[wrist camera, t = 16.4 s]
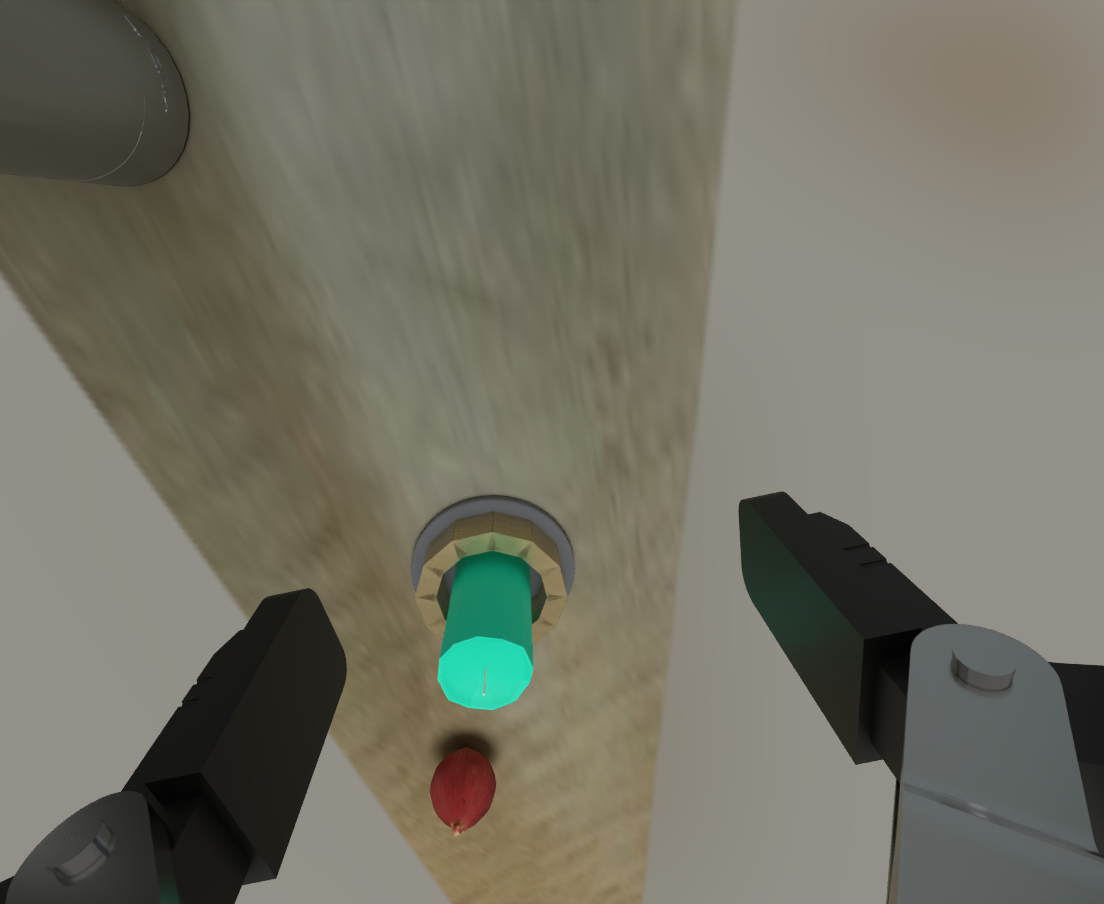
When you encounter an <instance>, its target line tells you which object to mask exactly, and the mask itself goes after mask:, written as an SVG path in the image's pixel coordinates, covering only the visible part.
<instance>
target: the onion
mask: <svg viewBox="0 0 1104 904" xmlns="http://www.w3.org/2000/svg"><path fill="white" fill-rule="evenodd" d="M495 789H496V780H495V774H494V771H493V769H492V766H491V764H490V763H489V761H488V760H487V759H486V758H485V757H484V756H483V755H482V754H480V753H479V752H477V751H475V750H472V749H471V748H470V747H463V748H461V749H459V750H457V751H454V752H452V753H450V754H449V755H447V756H446V757H445V758H444V759H443V760H442V761H441V762H440V764H439V765H438V766H437V768H436V770H435V773H434V776H433V779H432V782H431V787H430V794H431V799H432V803H433V807H434V810H435V812H436V814H437V816H438V817H439V818H440V819H441V820H442V821H443V822H444V823H445V824H446V825H447V826H449V827H451V828H452V832H453V836H458V835H460V834H461V833H462V832H464V831H465V830H466V829H468V828H470V827H472V826H474V825H475V824H476V823H477V822H478V821H479V820H480V819H481V818H482V817H483V816H484V815H485V814H486V813H487V812H488V810H489V809H490V806H491V803H492V800H493V797H494V794H495Z"/></svg>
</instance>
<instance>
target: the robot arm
mask: <svg viewBox="0 0 1104 904" xmlns="http://www.w3.org/2000/svg"><path fill="white" fill-rule="evenodd" d="M188 119H189V113H188V105H187V98H186V93H185V90H184V87H183V84H182V81H181V78H180V75H179V72H178V70H177V68H176V66H175V65H174V63H173V61H172V59H171V57H170V55H169V53H168V52H167V50H166V49H165V48H164V46H163V45H162V43H161V42H160V41H159V39H158V38H157V37H156V35H155V34H154V33H153V32H152V31H151V30H150V29H149V28H148V27H147V26H146V25H145V24H144V23H143V22H142V21H141V20H140V19H139V18H138V17H136V16H135V15H134V14H132V13H131V12H129V11H128V10H127V9H125V8H124V7H123V6H121V5H120V4H118V3H116V2H114V1H113V0H0V174H8V175H18V176H28V177H38V178H48V179H58V180H65V181H74V182H85V183H95V184H105V185H116V186H136V185H140V184H144V183H148V182H151V181H153V180H155V179H157V178H159V177H160V176H162V175H164V174H165V173H166V172H167V171H168V170H169V169H170V168H171V167H172V166H173V165H174V164H175V163H176V161H177V159H178V158H179V156H180V154H181V152H182V151H183V148H184V145H185V141H186V138H187V134H188ZM739 527H740V543H741V544H740V546H741V563H742V573H743V578H744V582H745V585H746V589H747V591H748V593H749V596H750V598H751V600H752V602H753V604H754V605H755V607H756V608H757V610H758V612H759V613H760V615H761V616H762V618H763V619H764V621H765V623H766V624H767V626H768V627H769V629H770V630H771V632H772V633H773V635H774V637H775V638H776V640H777V641H778V643H779V645H780V646H781V648H782V649H783V651H784V653H785V654H786V655H787V657H788V659H789V660H790V662H791V664H792V665H793V667H794V668H795V670H796V671H797V673H798V675H799V676H800V678H801V679H802V681H803V682H804V684H805V685H806V687H807V689H808V690H809V692H810V694H811V695H812V697H813V698H814V700H815V701H816V703H817V705H818V706H819V707H820V709H821V711H822V712H823V714H824V715H825V717H826V719H827V720H828V722H829V723H830V725H831V727H832V728H833V730H834V731H835V733H836V734H837V736H838V737H839V739H840V741H841V742H842V744H843V746H844V747H845V749H846V750H847V752H848V753H849V755H850V756H851V758H852V760H853V761H854V763H855V764H856V765H857V764H862V763H867V762H872V761H877V760H882V759H883V760H884V761H885V763H886V764H887V766H888V767H889V769H890V770H891V771H892V773H893V774H894V776H895V777H896V784H895V795H894V808H893V820H892V833H891V846H890V859H889V872H888V886H887V899H886V904H1104V666H1098V665H1082V664H1064V663H1053V662H1047V661H1046V660H1045V659H1044V658H1043V657H1042V656H1041V655H1039V654H1038V653H1037V652H1036V651H1034V650H1033V649H1031V648H1030V647H1028V646H1027V645H1025V644H1023V643H1022V642H1020V641H1018V640H1016V639H1014V638H1012V637H1010V636H1007V635H1005V634H1003V633H999V632H997V631H994V630H991V629H987V628H983V627H979V626H973V625H965V624H958V623H957V622H956V621H955V620H953V619H952V618H951V617H950V616H949V615H948V614H947V613H946V612H945V611H943V610H942V609H941V608H940V607H939V606H938V605H937V604H936V603H935V602H934V601H932V600H931V599H930V598H929V597H928V596H927V595H926V594H925V593H924V592H922V591H921V590H920V589H919V588H918V587H917V586H916V585H915V584H913V583H912V582H911V581H910V580H909V579H908V578H907V577H906V576H905V575H903V574H902V573H901V572H900V571H899V570H898V569H897V568H896V567H895V566H894V565H892V564H891V563H887V561H886V558H885V557H884V556H883V555H881V554H880V553H879V552H878V551H877V550H876V549H875V548H873V547H870V546H869V543H868V542H867V541H866V540H865V539H864V538H863V537H861V536H860V535H859V534H858V533H857V532H856V531H855V530H853V528H852V527H850V526H849V525H847V524H845V523H843V522H841V521H839V520H837V519H834V518H832V517H830V516H828V515H826V514H823V513H821V512H818V513H813V514H807V513H806V512H805V511H804V510H803V509H802V508H801V507H800V506H799V505H798V504H797V503H796V502H795V501H794V500H793V499H792V498H791V497H790V496H789V495H788V494H787V493H785V492H777V493H772V494H767V495H763V496H757V497H753V498H748V499H743V500H741V501H740V504H739ZM346 673H347V666H346V657H345V653H344V650H343V648H342V645H341V643H340V641H339V639H338V637H337V635H336V633H335V631H334V628H333V626H332V624H331V622H330V620H329V618H328V616H327V614H326V611H325V609H324V607H323V605H322V603H321V601H320V599H319V597H318V595H317V594H316V592H314V591H313V590H312V589H309V588H307V589H302V590H297V591H292V592H287V593H283V594H278V595H273V596H268V597H266V598H265V599H263V601H262V602H261V603H260V605H259V606H258V608H257V609H256V611H255V612H254V614H253V616H252V617H251V619H250V620H249V622H248V623H247V625H246V626H245V628H244V630H240V631H239V632H238V633H236V634H235V635H234V636H233V637H232V638H231V639H230V640H229V641H228V642H227V643H226V644H224V645H223V646H222V647H221V648H220V649H219V650H218V651H217V652H216V653H215V654H214V655H213V657H212V658H211V659H210V661H209V662H208V664H207V665H206V667H205V668H204V670H203V671H202V673H201V674H200V676H199V677H198V679H197V684H196V685H193V686H192V688H191V689H190V690H189V692H188V693H187V695H186V696H185V698H184V699H183V701H182V703H183V704H182V706H181V707H178V708H177V710H176V711H175V712H174V714H173V715H172V717H171V718H170V720H169V721H168V723H167V724H166V726H165V727H164V729H163V730H162V732H161V733H160V735H159V736H158V738H157V739H156V741H155V742H154V744H153V745H152V746H151V748H150V749H149V751H148V752H147V754H146V755H145V757H144V759H143V760H142V761H141V763H140V764H139V766H138V767H137V769H136V770H135V772H134V773H133V775H132V776H131V778H130V779H129V780H128V782H127V783H126V785H125V786H124V788H123V789H122V791H121V792H118V793H114V794H111V795H108V796H105V797H103V798H101V799H98V800H96V801H95V802H92V803H90V804H89V805H87V806H85V807H84V808H82V809H80V810H79V811H77V812H76V813H74V814H73V815H71V816H70V817H69V818H67V819H66V820H65V821H64V822H62V823H61V824H60V825H58V826H57V827H56V828H55V829H54V830H53V831H52V832H51V833H49V834H48V835H47V836H46V837H45V838H44V839H43V840H42V841H41V842H40V843H39V844H38V845H37V846H36V848H35V849H34V850H33V851H32V852H31V853H30V855H29V856H28V857H27V858H26V860H25V861H24V862H23V864H22V865H21V867H20V868H19V870H18V871H17V873H16V874H15V876H13V877H11V878H9V879H6V880H4V881H2V882H0V904H235V901H236V899H237V896H238V894H239V891H240V889H241V886H242V885H246V884H251V883H256V882H261V881H266V880H271V879H276V878H277V875H278V872H279V869H280V866H281V863H282V860H283V858H284V855H285V852H286V849H287V846H288V843H289V841H290V838H291V835H292V832H293V829H294V827H295V823H296V821H297V818H298V815H299V812H300V809H301V807H302V804H303V801H304V798H305V795H306V793H307V790H308V787H309V784H310V781H311V778H312V775H313V773H314V770H315V767H316V764H317V761H318V758H319V756H320V753H321V750H322V747H323V744H324V742H325V738H326V736H327V733H328V730H329V727H330V725H331V722H332V719H333V716H334V713H335V710H336V708H337V705H338V702H339V699H340V696H341V693H342V691H343V688H344V685H345V681H346Z"/></svg>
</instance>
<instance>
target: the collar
mask: <svg viewBox="0 0 1104 904" xmlns="http://www.w3.org/2000/svg"><path fill="white" fill-rule="evenodd" d="M488 551H496V552H500V553H504V554H509V555H513V556H517V557H521V558H522V559H523V560H525V561H526V562H527V563H528V564H529V565H530V566H531V567H533V568H534V569H535V570H536V571H537V572H538V573H540V574H541V577H542V584H541V586H540V589H539V592H538V594H537V595H536V596H535V597H534V598H532V599H531V615H532V644H534V643H536V642H537V641H538V640H539V639H541V638H542V637H543V636H545V635H546V634H547V633H549V632H550V631H551V630H553V629H554V628H555V627H556V625H557V623H558V620H559V618H560V615H561V613H562V610H563V608H564V605H565V603H566V600H567V589H566V582H565V574H564V570H563V566H562V562H561V558H560V554H559V550H558V546H557V543H556V542H555V541H553V540H552V539H551V538H550V537H549V536H548V535H547V534H546V533H545V532H544V531H542V530H541V529H540V528H539V527H538V526H537V525H536V524H535V523H534V522H533V521H531V520H528V519H524V518H520V517H516V516H512V515H508V514H504V513H500V512H496V511H492V512H488V513H483V514H479V515H474V516H470V517H465V518H461V519H457V520H455V521H454V522H453V523H452V524H451V525H449V526H448V527H447V528H446V529H445V530H444V531H443V532H441V533H440V534H439V535H438V536H437V537H436V538H435V539H433V540H432V541H431V542H430V544H429V547H428V551H427V555H426V558H425V562H424V566H423V569H422V573H421V577H420V581H419V584H418V588H417V592H416V595H415V599H416V601H417V604H418V606H419V609H420V611H421V614H422V616H423V619H424V621H425V624H426V626H427V628H428V629H430V630H431V631H432V632H434V633H435V634H436V635H438V636H439V637H440V638H442V639H443V637H444V631H445V626H446V620H447V615H448V609H449V604H450V598H451V595H449V592H448V590H447V587H446V584H445V581H444V579H443V576H442V575H443V574H444V573H445V572H446V571H447V570H449V569H450V568H451V567H452V566H453V565H454V564H456V563H457V562H458V561H459V560H460V559H462V558H463V557H466V556H470V555H475V554H479V553H484V552H488Z"/></svg>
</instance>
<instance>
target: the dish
mask: <svg viewBox="0 0 1104 904" xmlns="http://www.w3.org/2000/svg"><path fill="white" fill-rule="evenodd" d="M492 511H496V512H500V513H504V514H508V515H512V516H516V517H520V518H524V519H528V520H531V521H533V522H534V523H535V524H536V525H537V526H538V527H539V528H540V529H541V530H542V531H544V532H545V533H546V534H547V535H548V536H549V537H550V538H551V539H552V540H553V541H555V542H556V543H557V546H558V550H559V554H560V558H561V562H562V566H563V570H564V574H565V582H566V589H567V596H568V594H569V592H570V590H571V587H572V584H573V579H574V560H573V554H572V548H571V545H570V542H569V540H568V538H567V536H566V534H565V532H564V531H563V529H562V528H561V526H560V525H559V524H558V523H557V522H556V521H555V519H554V518H553V517H551V516H550V515H549V514H548V513H546V512H545V511H544V510H542V509H540V508H539V507H537V506H535V505H533V504H531V503H529V502H526V501H523V500H520V499H517V498H512V497H506V496H481V497H475V498H470V499H467V500H463V501H461V502H458V503H456V504H453V505H451V506H450V507H448V508H446V509H445V510H443V511H442V512H440V513H439V514H438V515H436V516H435V517H434V518H433V519H432V520H431V521H430V522H429V523H428V525H427V526H426V527H425V529H424V530H423V531H422V533H421V535H420V537H419V539H418V542H417V544H416V547H415V550H414V554H413V558H412V564H411V574H412V581H413V585H414V588H415V591H416V592H417V588H418V584H419V581H420V577H421V573H422V569H423V566H424V562H425V558H426V555H427V551H428V547H429V544H430V542H431V541H432V540H433V539H435V538H436V537H437V536H438V535H439V534H440V533H441V532H443V531H444V530H445V529H446V528H447V527H448V526H449V525H451V524H452V523H453V522H454V521H455V520H457V519H461V518H465V517H470V516H474V515H479V514H483V513H488V512H492ZM527 564H528V563H527ZM456 565H457V563H456V564H454V565H453V566H452V567H451V568H450V569H449V570H447V571H446V572H445V573H444V574H443V575H442V576H443V579H444V581H445V584H446V587H447V590H448V592H449V595H451V593H452V587H453V582H454V576H455V570H456ZM528 566H529V568H530V587H531V599H532V598H534V597H535V596H536V595H537V594H538V592H539V589H540V586H541V584H542V577H541V574H540V573H538V572H537V571H536V570H535V569H534V568H533V567H531V566H530V565H529V564H528Z"/></svg>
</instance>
